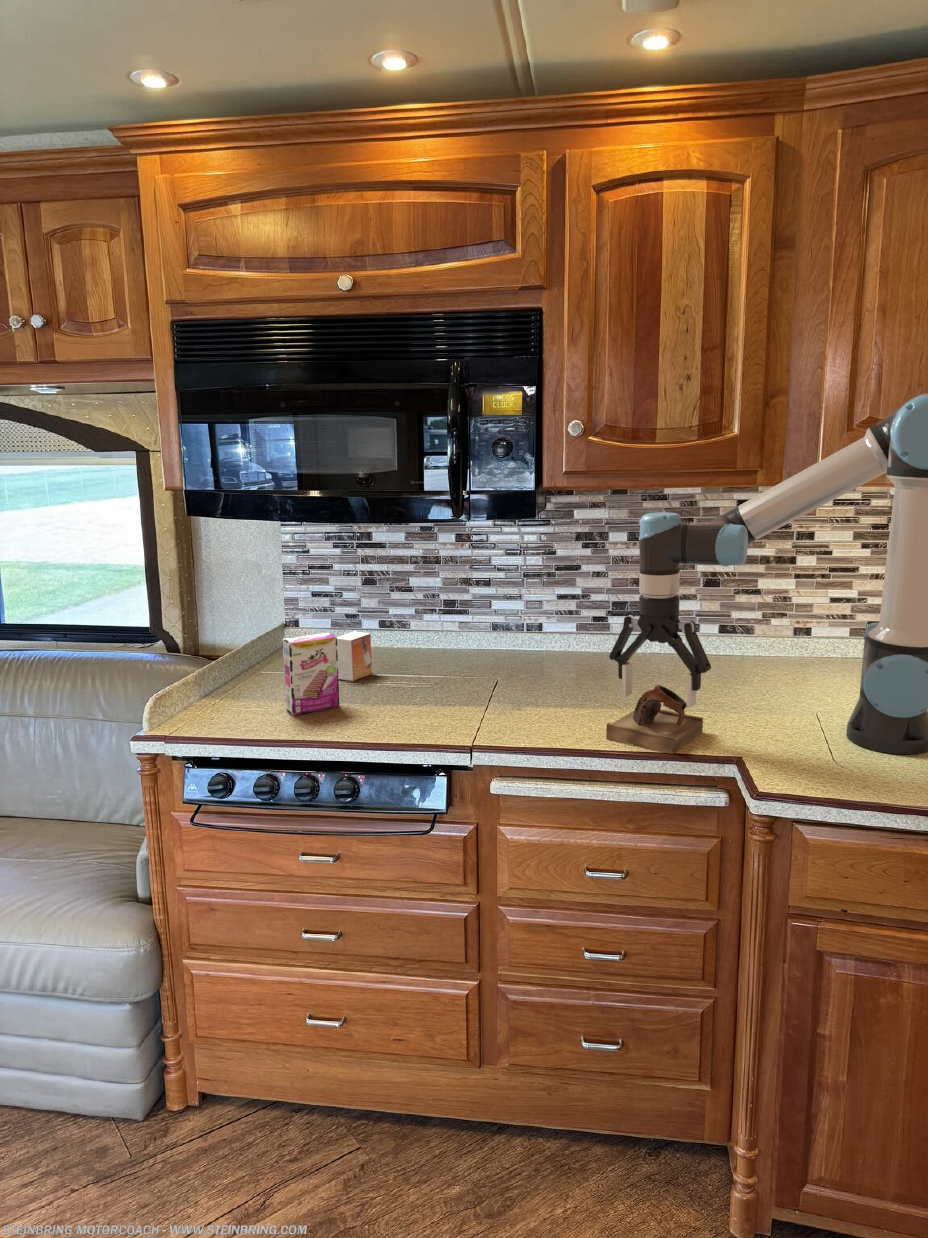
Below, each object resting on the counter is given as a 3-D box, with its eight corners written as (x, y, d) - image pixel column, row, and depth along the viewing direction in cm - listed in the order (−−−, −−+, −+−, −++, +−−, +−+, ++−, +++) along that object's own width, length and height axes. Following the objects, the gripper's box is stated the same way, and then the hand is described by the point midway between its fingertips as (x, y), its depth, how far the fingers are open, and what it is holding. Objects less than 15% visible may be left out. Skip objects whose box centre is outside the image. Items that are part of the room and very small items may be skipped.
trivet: (702, 732, 175) (703, 717, 174) (672, 754, 164) (673, 738, 163) (638, 719, 183) (638, 705, 182) (606, 739, 172) (606, 724, 171)
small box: (352, 682, 212) (350, 640, 210) (335, 679, 215) (332, 637, 213) (372, 673, 219) (371, 633, 217) (355, 670, 222) (353, 630, 220)
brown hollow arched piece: (637, 713, 180) (659, 680, 178) (675, 741, 176) (697, 707, 174) (617, 715, 170) (639, 681, 168) (656, 745, 166) (680, 710, 164)
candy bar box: (293, 716, 189) (288, 643, 185) (285, 710, 193) (280, 638, 189) (341, 707, 194) (337, 635, 191) (332, 701, 198) (328, 631, 195)
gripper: (730, 596, 162) (727, 705, 167) (610, 585, 177) (610, 686, 182) (714, 603, 156) (712, 716, 161) (592, 592, 171) (592, 695, 176)
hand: (658, 700), depth 172 cm, fingers open, 13 cm apart
